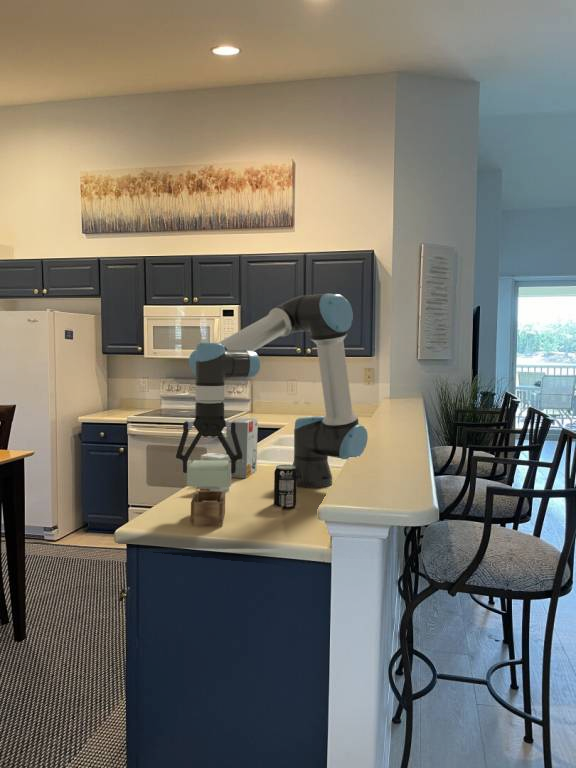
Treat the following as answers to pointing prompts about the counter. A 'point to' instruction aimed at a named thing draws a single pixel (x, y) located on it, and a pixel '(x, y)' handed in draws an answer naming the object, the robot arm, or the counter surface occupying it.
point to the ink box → (218, 458)
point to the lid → (207, 474)
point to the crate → (208, 509)
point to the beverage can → (285, 486)
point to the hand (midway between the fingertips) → (209, 485)
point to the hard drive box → (245, 446)
